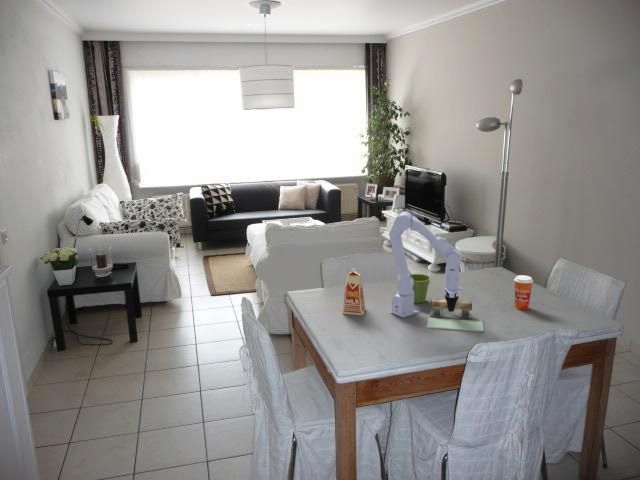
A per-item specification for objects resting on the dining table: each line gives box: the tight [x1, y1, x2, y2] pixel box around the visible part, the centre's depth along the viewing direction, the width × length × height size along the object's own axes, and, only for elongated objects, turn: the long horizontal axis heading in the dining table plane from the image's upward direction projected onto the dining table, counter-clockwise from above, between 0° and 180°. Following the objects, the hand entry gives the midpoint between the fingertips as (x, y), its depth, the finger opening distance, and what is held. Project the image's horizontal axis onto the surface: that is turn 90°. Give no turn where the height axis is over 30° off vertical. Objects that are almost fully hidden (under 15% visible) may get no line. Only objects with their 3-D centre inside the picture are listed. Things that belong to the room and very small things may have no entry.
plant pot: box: [410, 273, 432, 304], centre depth 245 cm, size 12×12×11 cm
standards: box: [429, 305, 472, 320], centre depth 227 cm, size 17×5×5 cm, turn 77°
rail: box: [430, 298, 473, 311], centre depth 226 cm, size 17×3×3 cm, turn 77°
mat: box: [426, 317, 485, 333], centre depth 217 cm, size 22×10×1 cm, turn 77°
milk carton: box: [341, 267, 366, 316], centre depth 233 cm, size 9×9×20 cm
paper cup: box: [513, 274, 534, 311], centre depth 233 cm, size 8×8×14 cm
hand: (450, 308), depth 226 cm, fingers open, 7 cm apart
